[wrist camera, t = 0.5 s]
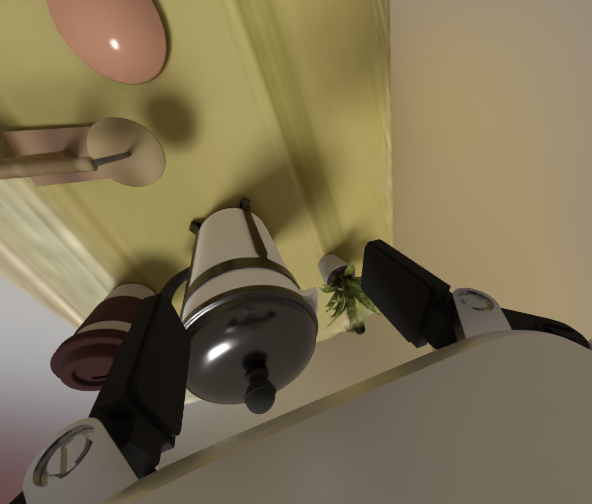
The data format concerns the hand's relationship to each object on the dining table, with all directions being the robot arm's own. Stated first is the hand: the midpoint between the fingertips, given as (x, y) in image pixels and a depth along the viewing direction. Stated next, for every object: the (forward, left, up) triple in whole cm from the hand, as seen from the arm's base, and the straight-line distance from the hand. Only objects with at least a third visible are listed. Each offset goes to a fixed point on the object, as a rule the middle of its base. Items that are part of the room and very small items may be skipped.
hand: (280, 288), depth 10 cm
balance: (-5, -20, -30) cm, 36 cm away
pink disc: (-17, -10, -30) cm, 36 cm away
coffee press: (+11, -4, -30) cm, 32 cm away
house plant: (+21, +16, -30) cm, 40 cm away
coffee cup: (+19, -23, -30) cm, 42 cm away
